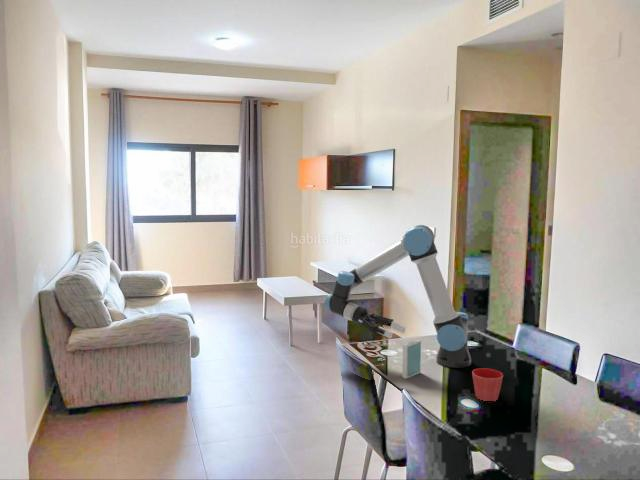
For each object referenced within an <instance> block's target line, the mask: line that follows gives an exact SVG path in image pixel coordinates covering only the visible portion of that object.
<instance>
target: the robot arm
mask: <svg viewBox="0 0 640 480" xmlns="http://www.w3.org/2000/svg"><path fill="white" fill-rule="evenodd" d="M438 253H439V251H438V249H437V246H436V244H435V233H434V231H433V230H432V229H431V228H430V227H429V226H426V225H423V224H419V225H416V226H412V227H410V228H409V229H408V230H406V232H405V233H404V236H402V237H401V238H400V241H397V242H396V243H395V244H393V245H391V246H390V247H388V248H387V249H385V250H382V252H380V253H378V254H376V255H375V256H373V257H371V258H370V259H369V260H367V261H365V262H364V263H362V264H360V265H358V266H357V267H355V268H354V269H352V270H351V271H345V270H341V271H339V272H338V274H337V277H336V281H335V284H334V287H333V290H332V291H333V292H332V293H329V294H328V295H327V296H326V298H325V299H324V301H323V302H324V303H323V306H324V309H326V310H328V311H329V312H331V313H333V314H334V315H335V314H336V315H338V316H340V317H342V318H344V319H346V320H347V321H351V322H353V323H355V324H357V325H361V326H362V327H364V328H365V329H367V331H369V332H370V333H373V334H374V335H376V334H379V335H382V336H383V337H386V338H388V339H390V340H391V339H392V338H393V335H394V332H393V331H392V330H389V329H387V328H385V327H382V326H386V327H389V328H390V329H393V330H395V331H397V332H399V333H402V334H405V332H406V328H407V327H406V326H404V325H401V324H399V323H397V322H395V321H394V319H393V318H388V317H384V316H382V315H377V314H375V313H370V314H369V313H368V310H367V308H365V307H362V306H360V305H359V304H356V303H353V302H351V301H349V297H350V294H351V293H352V292H351V291H352V290H353V289H355V288H357V287H358V286H360V285H361V284H363V283H366V281H368V280H369V279H371V278H373V277H374V276H376V275H377V274H378V275H379V274H380V273H381V272H383V271H384V270H387V269H388V268H389V267H392V266H393V265H395V264H397V263H398V262H400V261H402V260H403V259H405V258H407V257H408V256H409V258H410V262H412V263H414V264H415V265H416V268H417V270H418V273H419V275H420V278H421V282H422V284H423V287H424V290H425V293H426V295H427V298H428V301H429V304H430V306H431V309H432V312H433V315H434V319H433V321H432V323H433V326H434V329H435V332H436V340H437V343H438V344H439V349H438V352H437V353H436V357H435V358H436V361H435V362H436V363H437V364H439V365H441V366H444V367H447V368H456V369H457V368H458V369H459V368H460V369H461V368H466V367H470V366H472V357H471V354H470V352H469V351H470V350H469V348H468V347H469V346H468V336H469V335H468V331H469V330H468V329H469V326H468V325H469V315H468V314H467V313H466V312H462V311H455V308H454V305H453V302H452V299H451V297H450V294H449V291H448V288H447V285H446V282H445V280H444V277H443V274H442V272H441V269H440V266H439V263H438V259H437V255H438ZM378 325H381V326H378Z"/></svg>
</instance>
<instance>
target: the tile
mask: <svg viewBox="0 0 640 480" xmlns="http://www.w3.org/2000/svg"><path fill="white" fill-rule="evenodd" d="M421 349H422V340H420V339H414V340H411V341H410V342H409V341H408V342H406V343H402V371H401V372H402V379H406V380H407V379H409V378H412V377H414V376H416V375H418V374H421V369H422V368H421V357H422V356H421V355H422V352H421V351H422V350H421Z"/></svg>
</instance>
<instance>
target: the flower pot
mask: <svg viewBox="0 0 640 480" xmlns="http://www.w3.org/2000/svg"><path fill="white" fill-rule="evenodd" d="M471 375H472V381H473V389H474V393H475V398H476V397H477V398H478V399H480V400H479V401H481V400H483V401H482V402H484V401H494V402H497V401H498V399H499V395H500V391H501V388H502V384H503V378H504V374H503V372H501V371H499V370H496V369H492V368H488V367H486V368H485V367H483V368H482V367H479V368H478V367H477V368H475V369H473V370H472V371H471ZM477 398H476V399H477ZM478 399H477V400H478ZM496 400H497V401H496Z"/></svg>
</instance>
